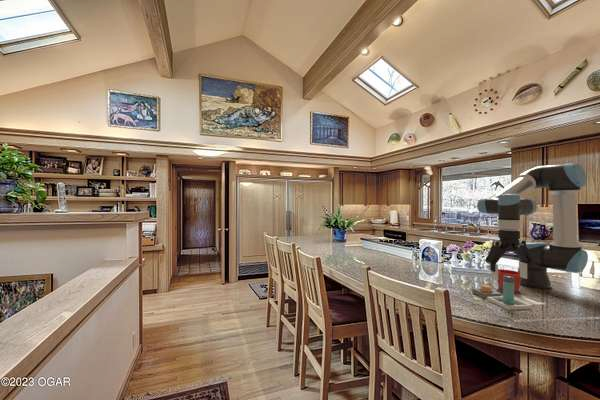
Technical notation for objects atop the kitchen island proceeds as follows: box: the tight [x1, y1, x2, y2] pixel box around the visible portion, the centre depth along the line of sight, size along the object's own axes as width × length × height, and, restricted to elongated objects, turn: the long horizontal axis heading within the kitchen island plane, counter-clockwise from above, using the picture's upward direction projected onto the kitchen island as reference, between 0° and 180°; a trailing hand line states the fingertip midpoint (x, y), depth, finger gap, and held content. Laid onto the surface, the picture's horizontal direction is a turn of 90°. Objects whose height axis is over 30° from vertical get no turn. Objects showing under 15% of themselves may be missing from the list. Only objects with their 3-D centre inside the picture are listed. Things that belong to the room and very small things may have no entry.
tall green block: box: [502, 276, 515, 305], centre depth 117 cm, size 4×4×12 cm
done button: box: [480, 284, 493, 293], centre depth 128 cm, size 4×4×4 cm
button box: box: [471, 287, 502, 300], centre depth 128 cm, size 8×8×3 cm
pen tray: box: [486, 295, 533, 311], centre depth 117 cm, size 11×11×2 cm
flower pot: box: [496, 268, 522, 293], centre depth 138 cm, size 11×11×10 cm
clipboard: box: [501, 293, 546, 306], centre depth 124 cm, size 12×14×1 cm
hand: (509, 278), depth 118 cm, fingers open, 13 cm apart
